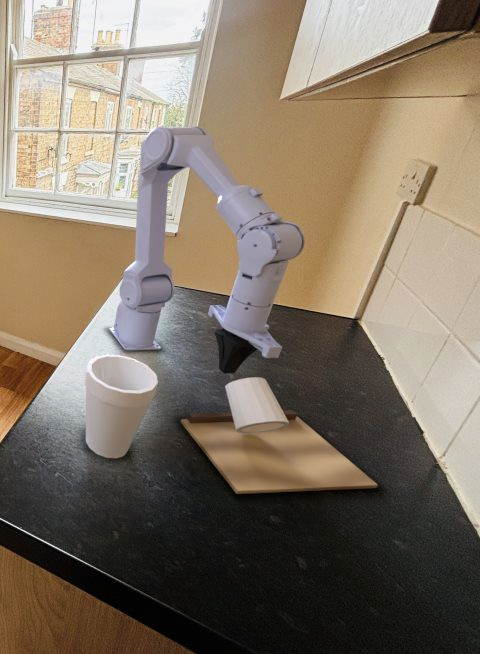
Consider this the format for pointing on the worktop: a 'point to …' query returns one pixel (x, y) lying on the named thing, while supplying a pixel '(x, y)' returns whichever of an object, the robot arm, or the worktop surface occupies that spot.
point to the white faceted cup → (254, 406)
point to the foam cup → (116, 402)
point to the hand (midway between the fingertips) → (226, 371)
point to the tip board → (273, 456)
